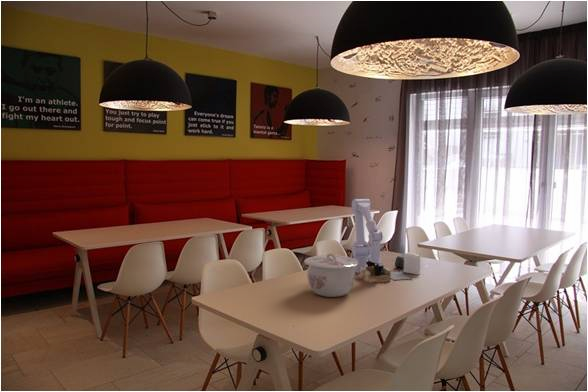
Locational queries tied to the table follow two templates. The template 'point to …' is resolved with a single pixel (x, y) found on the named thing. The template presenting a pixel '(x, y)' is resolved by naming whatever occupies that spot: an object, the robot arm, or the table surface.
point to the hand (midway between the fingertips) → (374, 275)
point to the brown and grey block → (373, 271)
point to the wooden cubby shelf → (372, 279)
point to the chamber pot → (331, 274)
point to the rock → (400, 261)
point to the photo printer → (412, 263)
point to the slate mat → (399, 276)
